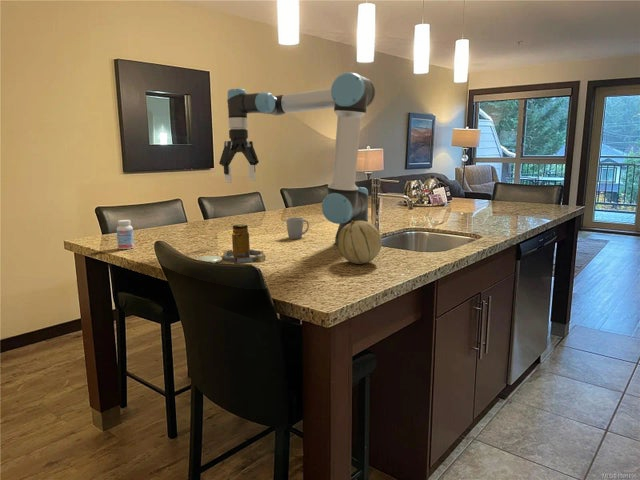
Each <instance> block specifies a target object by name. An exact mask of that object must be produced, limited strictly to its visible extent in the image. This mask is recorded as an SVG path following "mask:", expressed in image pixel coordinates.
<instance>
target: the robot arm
mask: <svg viewBox="0 0 640 480" xmlns="http://www.w3.org/2000/svg"><path fill="white" fill-rule="evenodd" d="M375 98H376V87H375V84H374V83H373V81H372V80H370V79H369V78H368V77H366V76H363V75H360V74H359V73H357V72H356V73H355V72H351V71H350V72H349V71H348V72H343V73H342V74H340V75H338V76H337V77H336V78H335V79H334V81H333V82H332V85H331V86H330V88H323V89H316V90H308V91H302V92H293V93H292V92H291V93H285V94H279V95H273V94H272V92H264V91H263V92H255V93H248V92H247V90H246V89H244V88H230V89H228V90H227V100H226V102H227V110H228V111H227V114H228V115H227V116H228V129H229V130H228V136H229V139H230V140H225V141H224V142H223V143H224V145H223V150H222V153H221V156H220V159H219V162H218V163H219V165H220V166H222V167H223V174H224V178H225V183H229V184H231V183H232V167H231V163H232V161H233V159H234V158H235V155H236V154H237V153H242V154H243V156H244V157H245V158H246V160H247V162H248V164H249V165H248V181H250V182H251V181H253V182H254V181H256V177H255V176H256V175H255V173H256V166H257V165H258V164H259V162H260V161H259V159H258V155H257V153H256V151H255V148H254V143H253V141H252V140H249V141H248V140H247V139H248V138H249V133H248V125H249V124H248V114H265V115H273V116H283V115H284V114H292V113H299V112H300V113H301V112H309V111H318V110H325V109H326V110H327V109H333V112H334V113H335V115H336V116H337V121H336V131H335V132H336V133H335V145H334V157H333V167H332V170H333V171H332V178H331V182H330V183H329V184H328V185H327V191H326V196H325V197H324V198H323V200H322V203H321V211H322V215H323V217H325V219H326V220H327V221H328V222H330V223H332V224H336V225H338V226H337V227H338V228H337V230H336V231H337V232H336V234H335V237H334V243H335V244H336V245H338V236H339V233H340V231H341V230H342V229H343V228H344V227H345V226H346V225H347V224H349V223H351V221H367V222H369V220H368V219H369V190H368V188H366V187H363V186H362V187H361V186H357V185H356V176H357V166H358V164H357V163H358V155H359V143H360V137H361V135H360V133H361V124H362V123H361V122H362V118H364V116H365V115H366V114H367V107H369V106H370V105H372V103H373V101H374V99H375Z"/></svg>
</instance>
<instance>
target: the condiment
mask: <svg viewBox="0 0 640 480" xmlns="http://www.w3.org/2000/svg"><path fill="white" fill-rule="evenodd" d="M231 241H232V251H233V256H232V257H234V258H247V257H254V256H256V255H253V254H250V250H251V249H250V232H249V229H248V224H243V223H242V224H240V223H239V224H234V225H232V233H231Z"/></svg>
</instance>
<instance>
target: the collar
mask: <svg viewBox="0 0 640 480" xmlns="http://www.w3.org/2000/svg"><path fill="white" fill-rule="evenodd" d="M250 255H256V256H254V257H247V258H234V257H233V249H230V248H229V249H228V248H227V249H224V250H223V261H224V262H228V263H235V264H241V263H244V264H245V263H254V262H258V263H259V262H260V263H261V262H264V261H266V254H265V253H264V251H262V250H256V249H250Z"/></svg>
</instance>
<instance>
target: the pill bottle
mask: <svg viewBox="0 0 640 480" xmlns="http://www.w3.org/2000/svg"><path fill="white" fill-rule="evenodd" d="M117 224H118V226H117V227H116V239H117V248H118V249H119V250H120V249H123V251H124V249H127V250H132V249H131V248H133V249H134V248H135V240H134V239H135V238H134V228H133V226H132V225H131V219H120V220H117Z"/></svg>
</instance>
